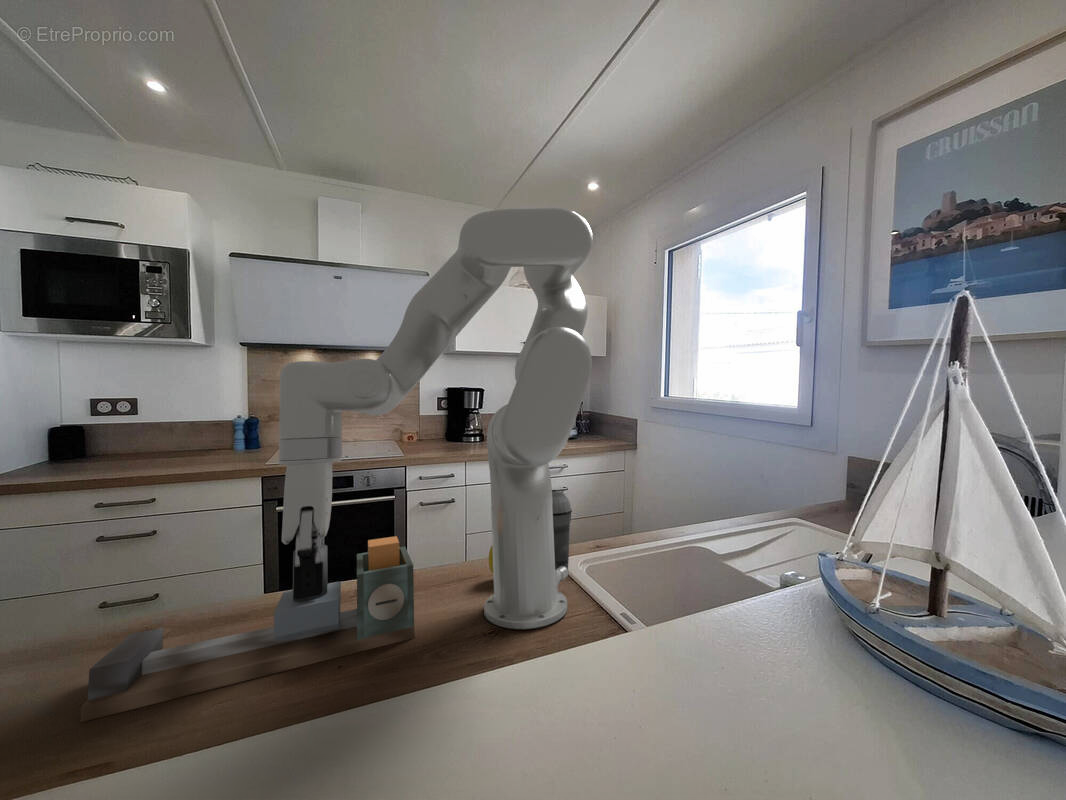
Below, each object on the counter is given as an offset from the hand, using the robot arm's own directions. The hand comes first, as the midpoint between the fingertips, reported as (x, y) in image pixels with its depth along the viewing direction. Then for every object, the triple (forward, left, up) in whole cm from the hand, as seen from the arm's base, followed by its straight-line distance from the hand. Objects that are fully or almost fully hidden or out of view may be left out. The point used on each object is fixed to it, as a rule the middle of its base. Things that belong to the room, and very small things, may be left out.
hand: (310, 588), depth 51 cm
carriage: (0, 0, -5) cm, 5 cm away
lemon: (-30, +9, -7) cm, 32 cm away
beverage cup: (-38, +15, -7) cm, 41 cm away
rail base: (+3, -2, -7) cm, 8 cm away
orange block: (-8, +5, +1) cm, 9 cm away
